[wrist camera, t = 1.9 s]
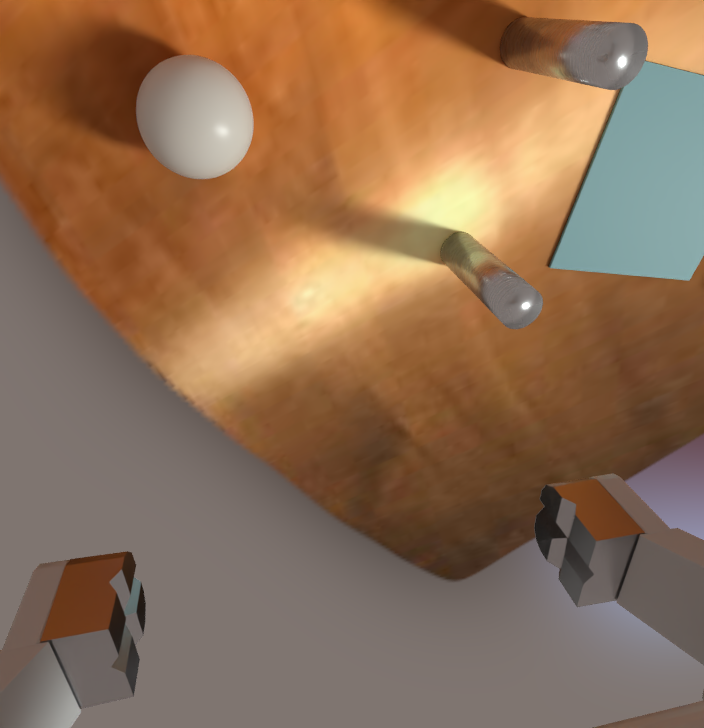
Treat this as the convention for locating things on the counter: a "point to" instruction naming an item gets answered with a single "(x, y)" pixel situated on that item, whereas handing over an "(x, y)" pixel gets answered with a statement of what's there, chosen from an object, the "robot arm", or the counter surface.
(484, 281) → the post
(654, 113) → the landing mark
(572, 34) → the post
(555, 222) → the counter surface
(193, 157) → the ball
